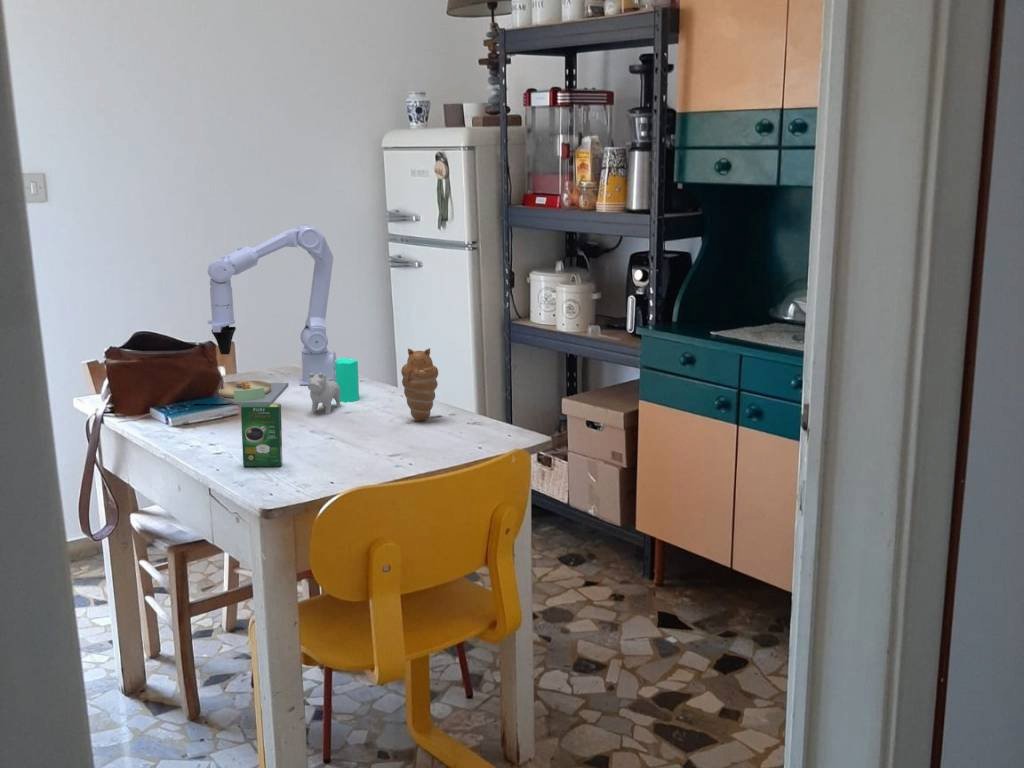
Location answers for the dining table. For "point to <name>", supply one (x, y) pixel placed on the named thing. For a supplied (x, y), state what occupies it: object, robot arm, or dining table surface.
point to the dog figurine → (323, 392)
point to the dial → (242, 387)
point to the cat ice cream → (419, 383)
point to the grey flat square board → (266, 395)
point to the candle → (347, 379)
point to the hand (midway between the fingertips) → (225, 353)
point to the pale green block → (249, 394)
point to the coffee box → (261, 435)
